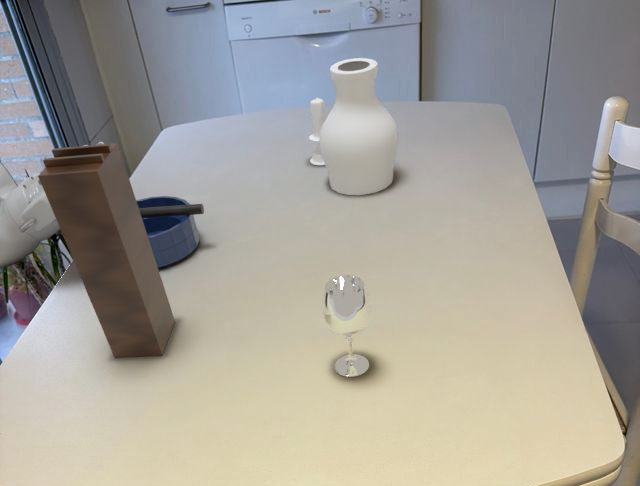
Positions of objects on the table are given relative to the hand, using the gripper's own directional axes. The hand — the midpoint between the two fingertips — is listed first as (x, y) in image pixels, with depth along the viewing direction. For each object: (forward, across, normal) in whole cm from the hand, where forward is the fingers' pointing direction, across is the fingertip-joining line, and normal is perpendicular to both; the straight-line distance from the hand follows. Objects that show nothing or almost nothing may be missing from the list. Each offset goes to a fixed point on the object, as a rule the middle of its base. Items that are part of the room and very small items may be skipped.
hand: (95, 158), depth 101 cm
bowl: (-4, 0, +17) cm, 17 cm away
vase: (+26, +21, +34) cm, 48 cm away
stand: (+1, -26, +19) cm, 32 cm away
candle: (+20, +32, +30) cm, 48 cm away
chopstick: (-1, 0, +11) cm, 11 cm away
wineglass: (+26, -34, +34) cm, 55 cm away
